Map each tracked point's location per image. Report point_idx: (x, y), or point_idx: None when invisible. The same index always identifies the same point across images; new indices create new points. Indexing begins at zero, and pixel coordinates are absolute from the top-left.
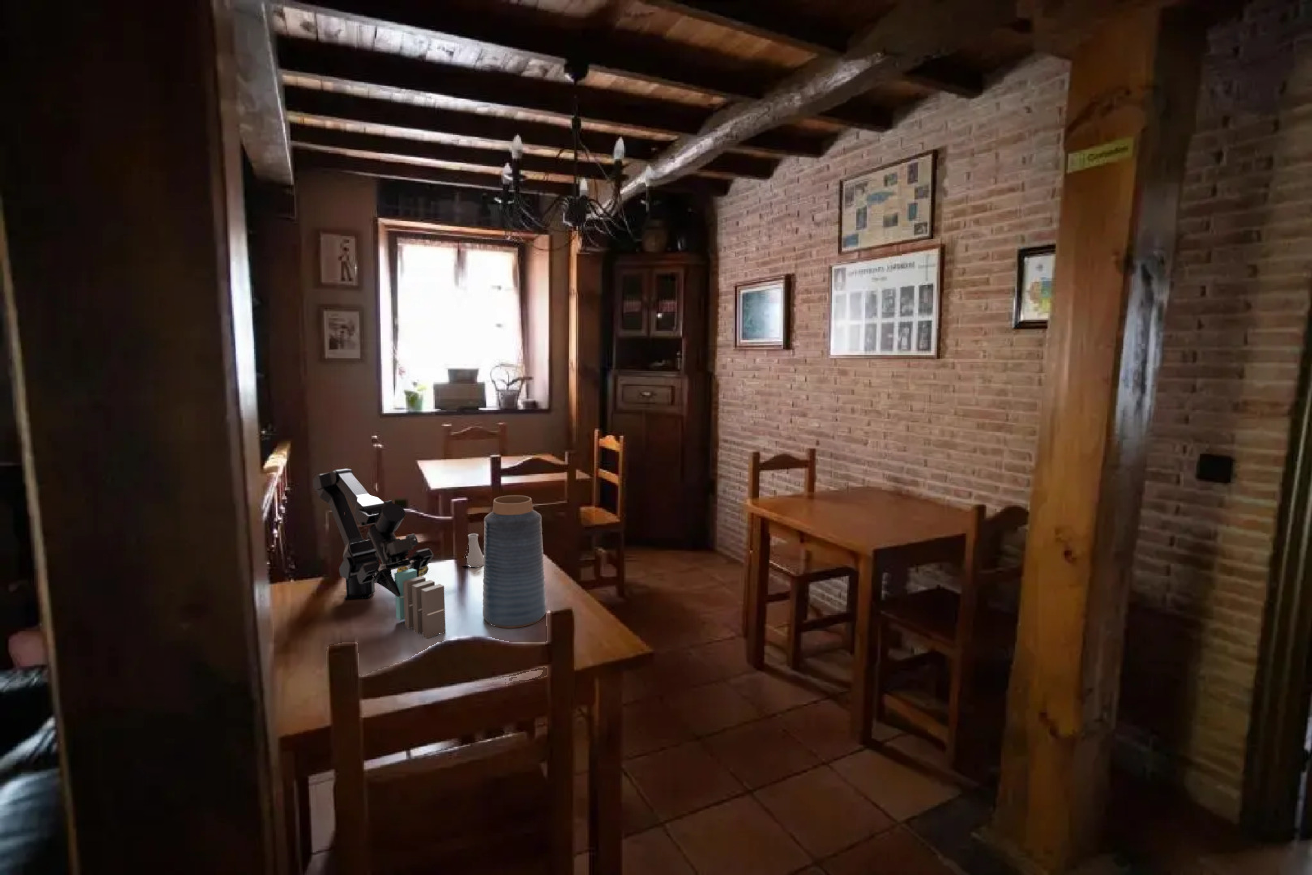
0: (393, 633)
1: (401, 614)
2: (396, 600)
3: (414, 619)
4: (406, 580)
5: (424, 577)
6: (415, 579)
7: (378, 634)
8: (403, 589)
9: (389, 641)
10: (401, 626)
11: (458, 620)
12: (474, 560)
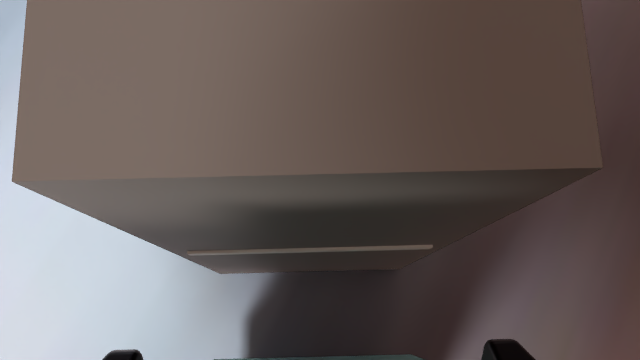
0: (531, 211)
1: (404, 357)
2: None
3: None
4: (507, 146)
5: (30, 11)
6: (286, 44)
7: (636, 286)
8: (517, 207)
9: (614, 95)
10: (419, 298)
11: (17, 54)
12: None
